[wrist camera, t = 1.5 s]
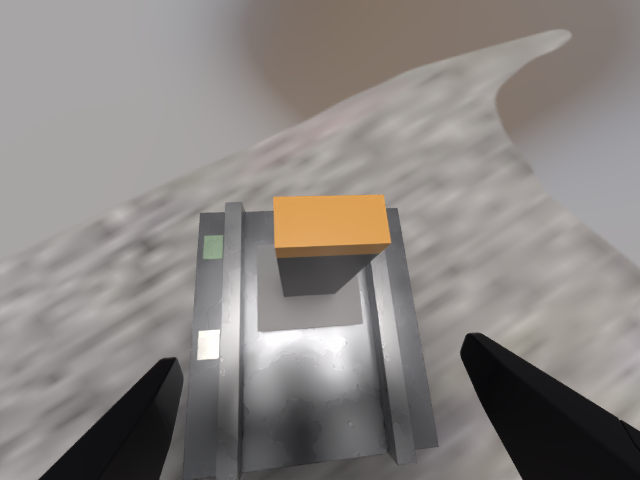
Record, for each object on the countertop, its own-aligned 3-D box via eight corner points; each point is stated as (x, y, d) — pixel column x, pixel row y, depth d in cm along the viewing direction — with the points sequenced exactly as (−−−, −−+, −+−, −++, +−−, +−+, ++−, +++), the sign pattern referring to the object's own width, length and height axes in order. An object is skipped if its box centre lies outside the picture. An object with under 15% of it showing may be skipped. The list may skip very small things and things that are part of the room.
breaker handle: (357, 324, 17) (461, 310, 7) (259, 331, 17) (207, 328, 6) (349, 247, 19) (423, 140, 8) (259, 251, 18) (217, 139, 8)
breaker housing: (423, 434, 18) (453, 457, 15) (194, 463, 16) (170, 496, 13) (388, 218, 23) (405, 198, 19) (208, 223, 21) (192, 203, 18)
